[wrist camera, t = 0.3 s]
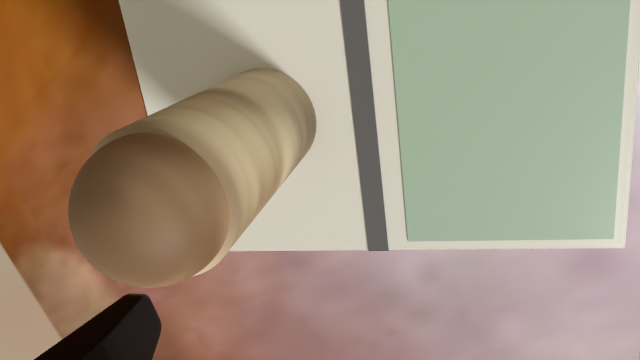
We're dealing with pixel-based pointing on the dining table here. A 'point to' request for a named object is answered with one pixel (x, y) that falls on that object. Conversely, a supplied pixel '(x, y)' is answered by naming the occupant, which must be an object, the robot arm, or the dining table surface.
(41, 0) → the dining table surface
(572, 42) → the board
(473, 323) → the dining table surface
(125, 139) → the wooden pin
